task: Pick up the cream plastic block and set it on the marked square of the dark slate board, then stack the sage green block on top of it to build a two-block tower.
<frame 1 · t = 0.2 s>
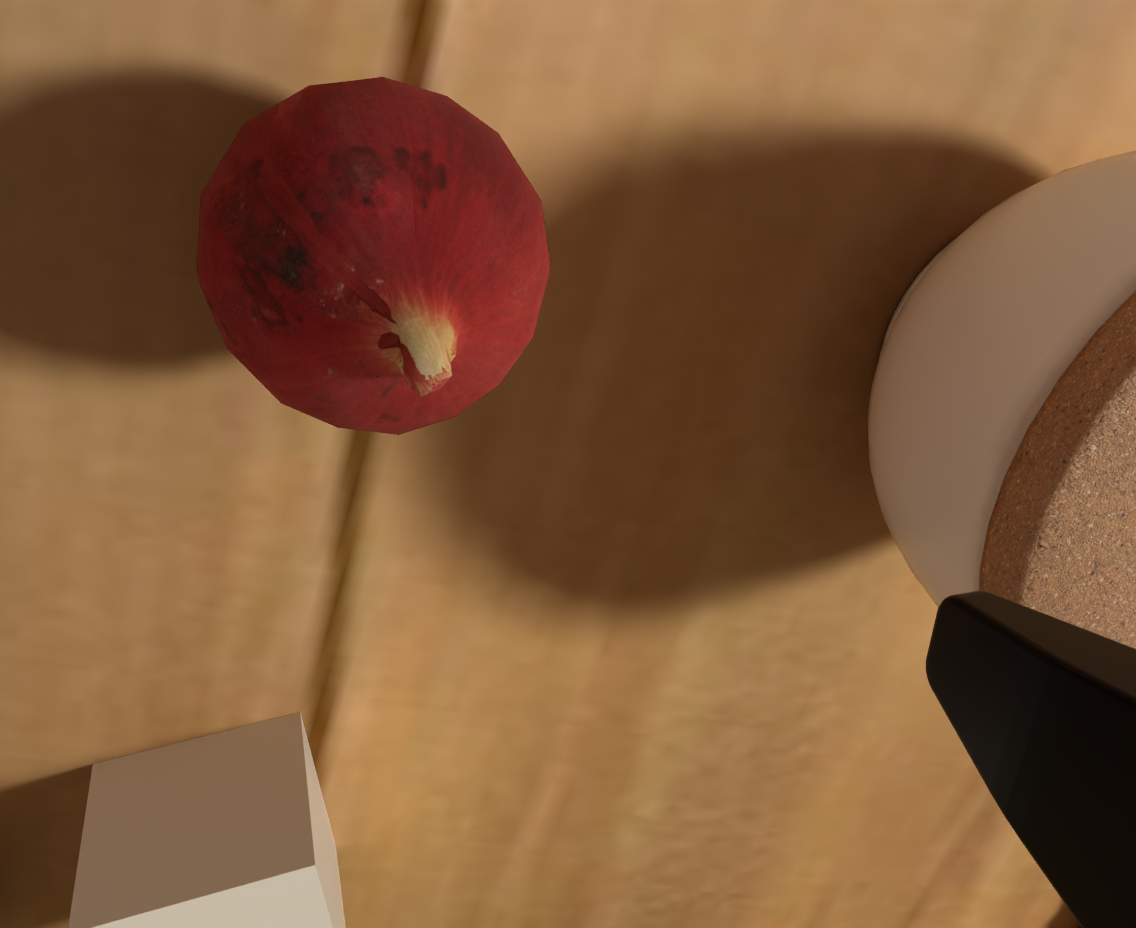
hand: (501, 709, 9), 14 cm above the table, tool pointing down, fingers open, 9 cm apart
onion: (352, 203, 21), on the table
lidded bowl: (992, 341, 27), on the table
cream block: (222, 805, 27), on the table
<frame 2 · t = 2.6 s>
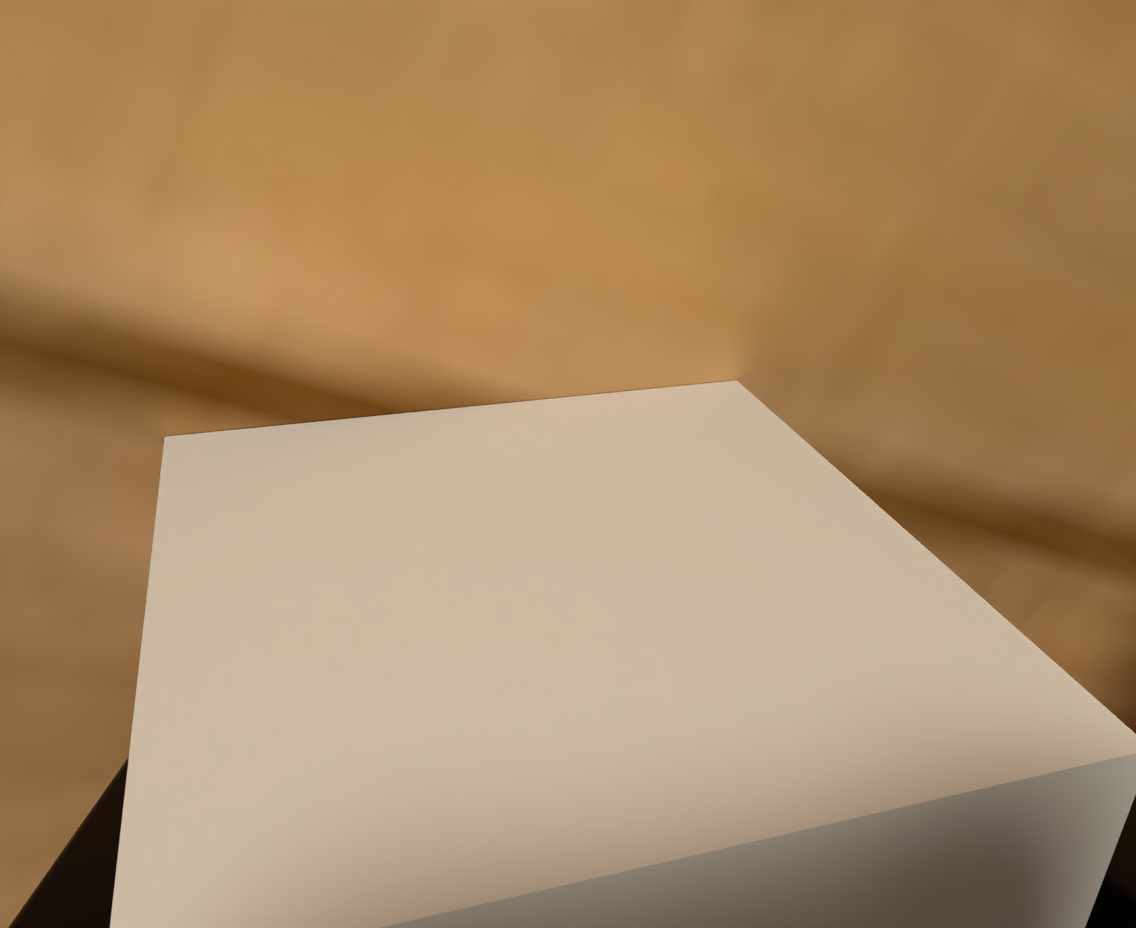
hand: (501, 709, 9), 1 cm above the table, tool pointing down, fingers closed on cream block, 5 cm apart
cream block: (477, 640, 10), on the table, touching gripper
when the fingers open (4 cm above the table, at t = 6.7 s): cream block drops 1 cm, resting on slate board.
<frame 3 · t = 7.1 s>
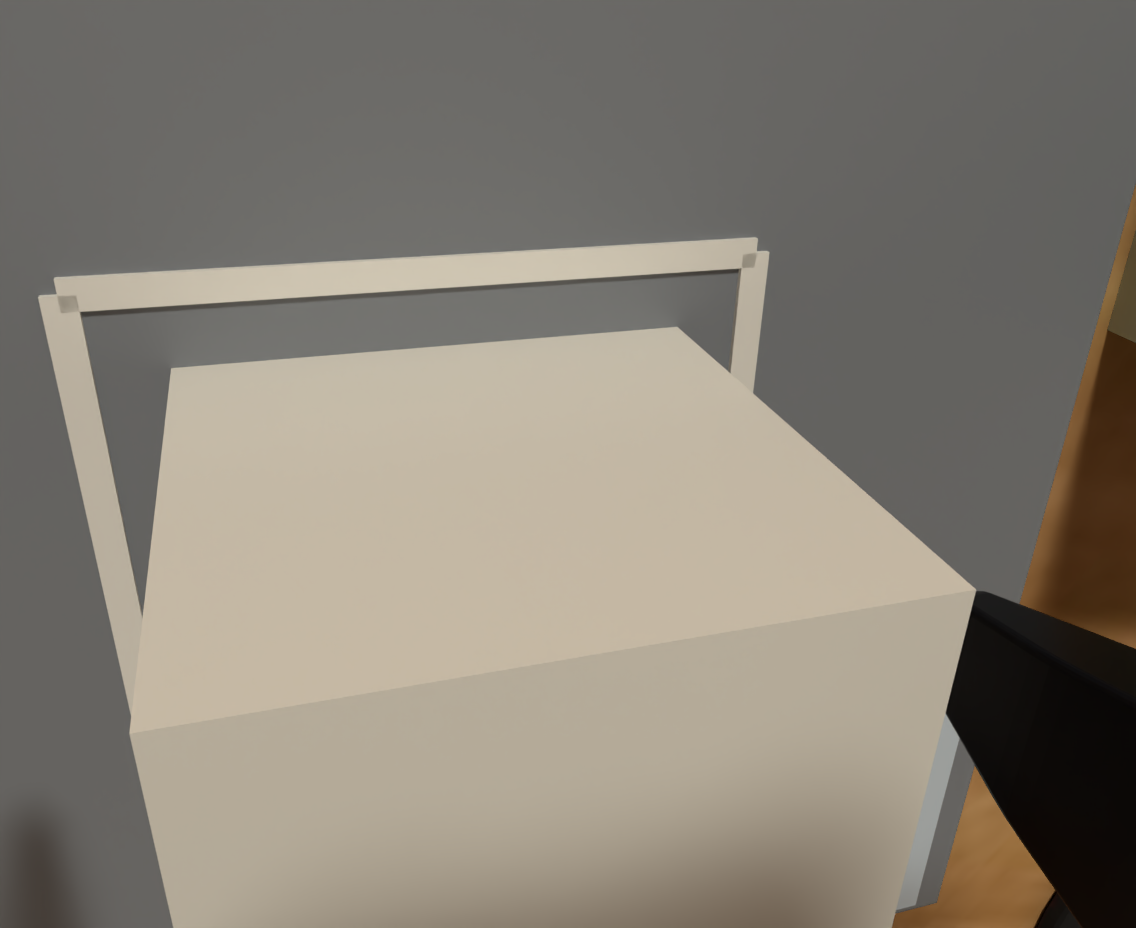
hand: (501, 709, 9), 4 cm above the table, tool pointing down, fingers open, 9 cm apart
slate board: (428, 511, 12), on the table
cream block: (448, 560, 11), point 1 cm above the table, touching slate board
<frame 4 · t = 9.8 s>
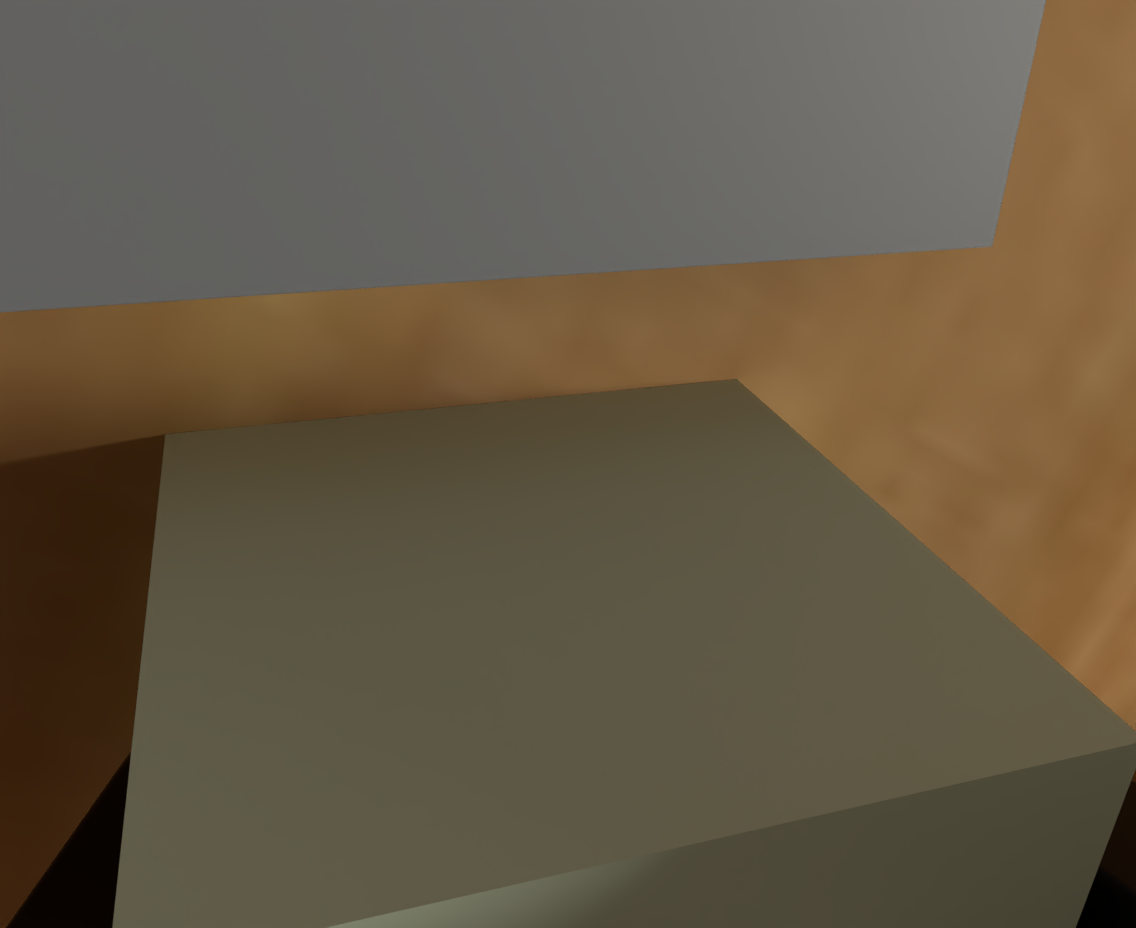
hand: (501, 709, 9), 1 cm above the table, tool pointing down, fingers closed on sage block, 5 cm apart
sage block: (476, 636, 10), on the table, touching gripper
when the fingers open (9 cm above the table, at t = 13.2 s): sage block drops 1 cm, resting on cream block.
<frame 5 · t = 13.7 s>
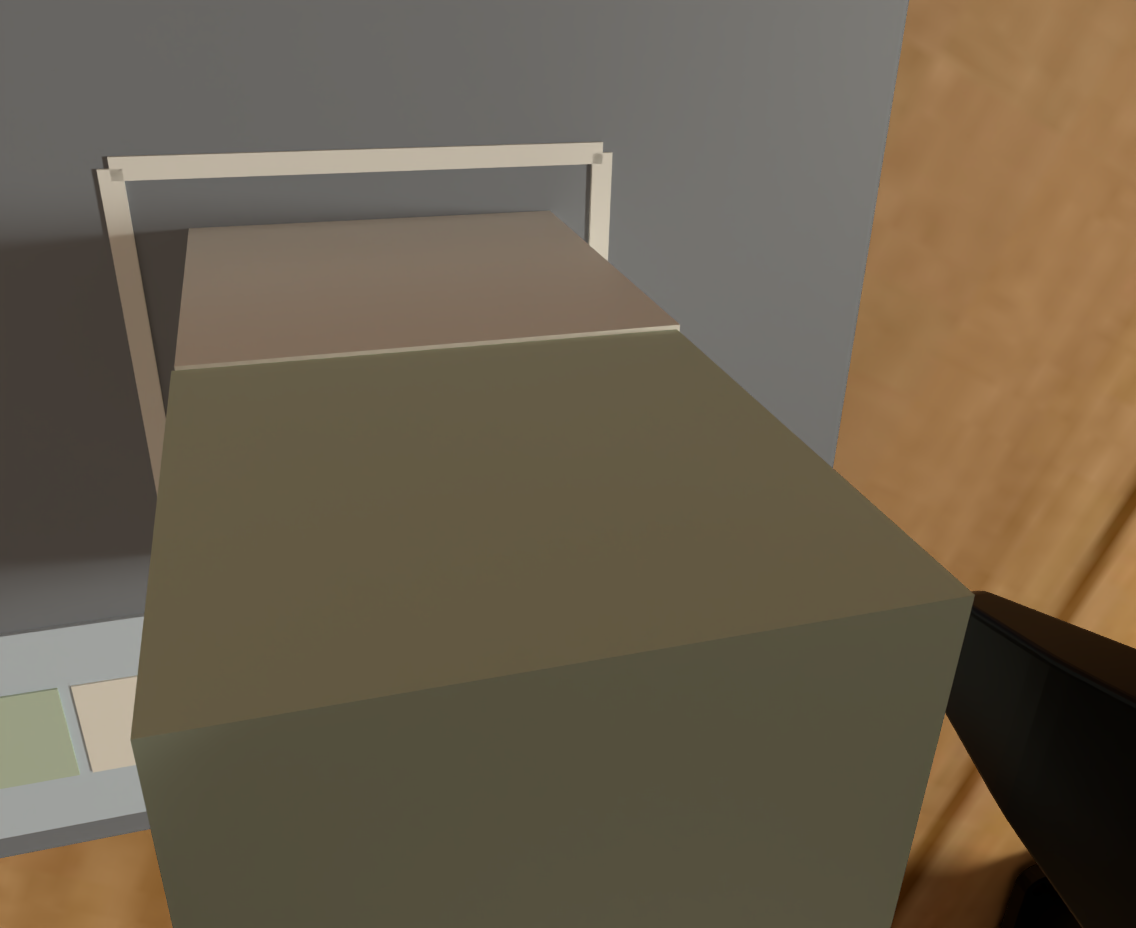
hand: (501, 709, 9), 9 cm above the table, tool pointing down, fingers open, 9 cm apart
slate board: (375, 355, 16), on the table
cream block: (388, 384, 15), point 1 cm above the table, touching sage block, slate board
sage block: (448, 562, 11), point 6 cm above the table, touching cream block
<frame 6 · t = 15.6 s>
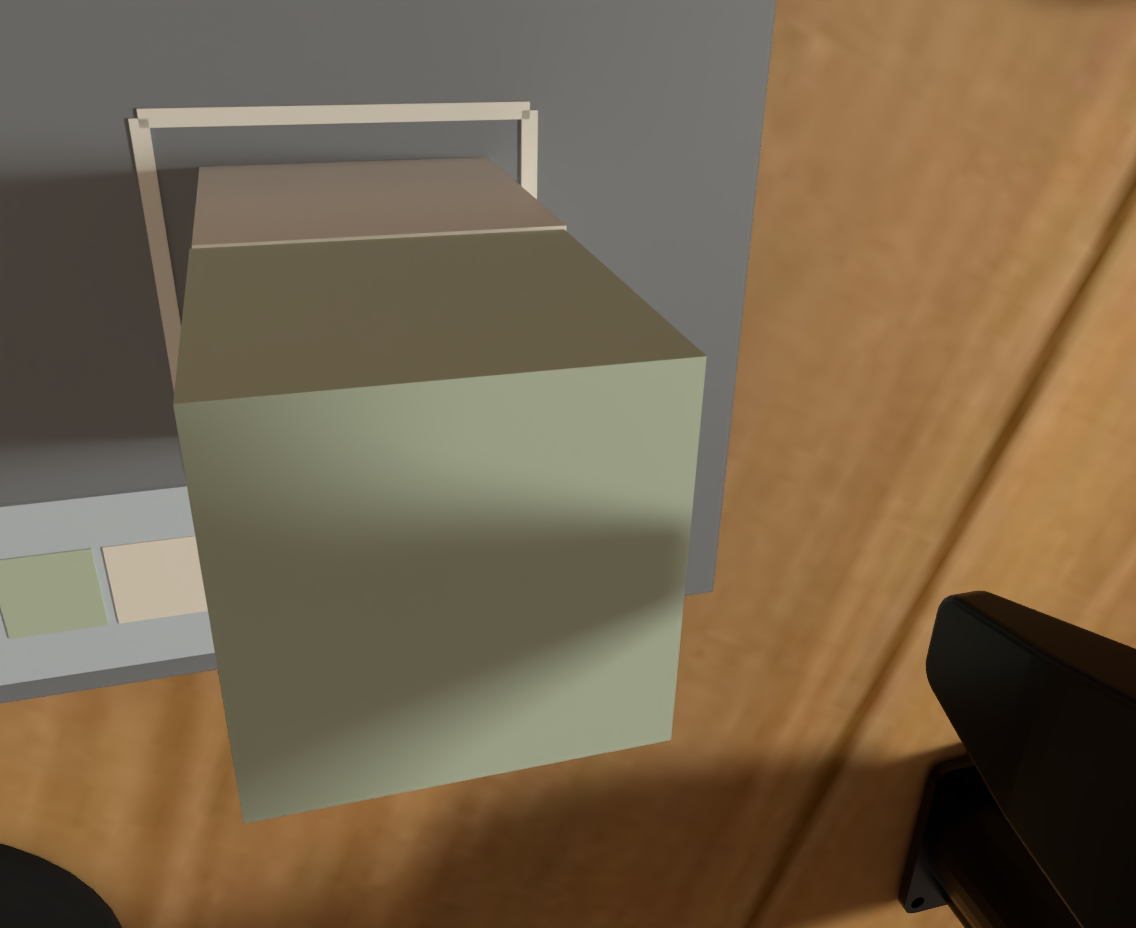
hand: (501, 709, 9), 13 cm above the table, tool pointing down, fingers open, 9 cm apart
slate board: (350, 279, 20), on the table
cream block: (359, 298, 19), point 1 cm above the table, touching sage block, slate board
sage block: (395, 408, 15), point 6 cm above the table, touching cream block
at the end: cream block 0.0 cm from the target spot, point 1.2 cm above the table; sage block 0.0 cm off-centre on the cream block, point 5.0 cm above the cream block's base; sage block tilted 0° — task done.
